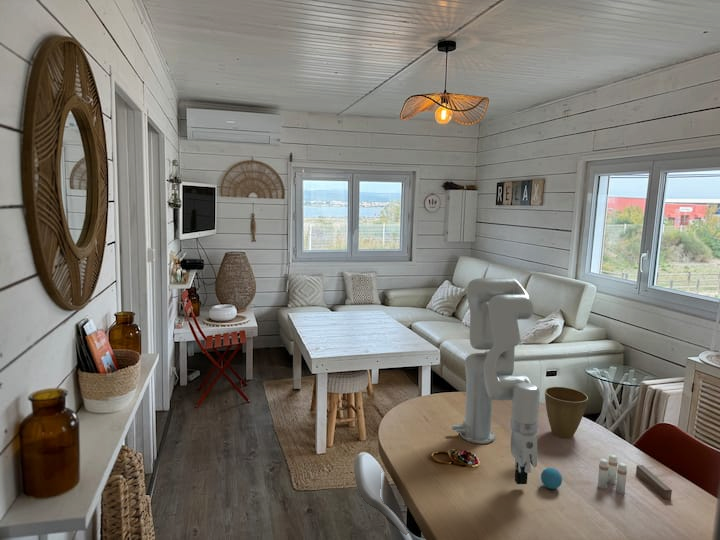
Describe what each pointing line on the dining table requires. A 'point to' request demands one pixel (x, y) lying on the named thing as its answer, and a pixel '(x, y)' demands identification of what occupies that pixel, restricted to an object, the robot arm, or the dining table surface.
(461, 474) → the dining table surface
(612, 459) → the pin
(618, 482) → the pin
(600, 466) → the front pin
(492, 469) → the dining table surface
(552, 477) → the ball
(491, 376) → the robot arm
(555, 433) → the plant pot
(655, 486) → the back rail
